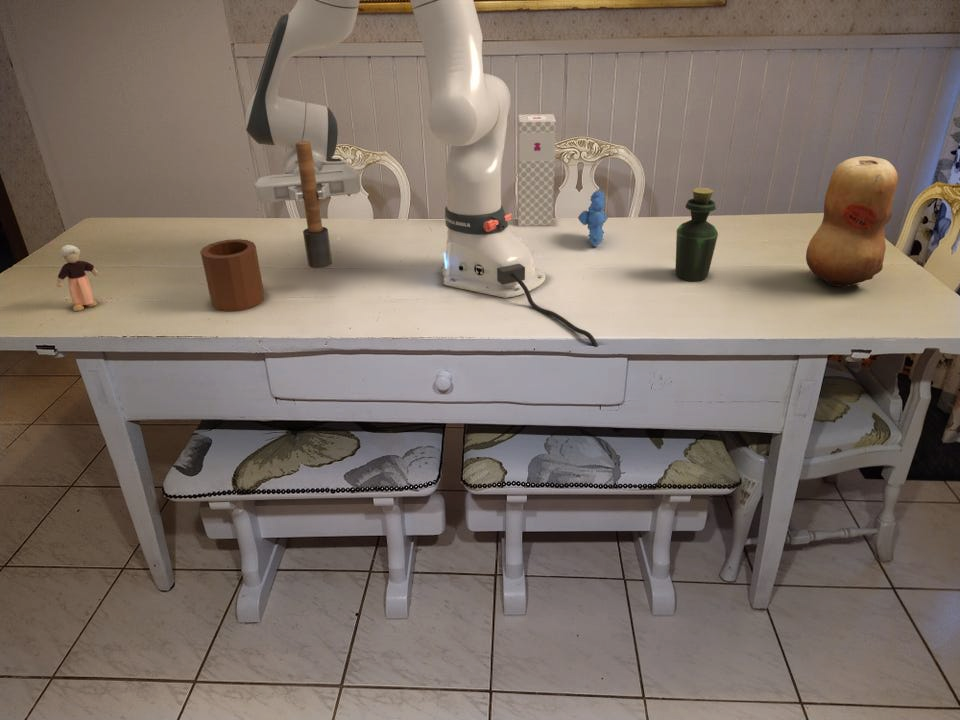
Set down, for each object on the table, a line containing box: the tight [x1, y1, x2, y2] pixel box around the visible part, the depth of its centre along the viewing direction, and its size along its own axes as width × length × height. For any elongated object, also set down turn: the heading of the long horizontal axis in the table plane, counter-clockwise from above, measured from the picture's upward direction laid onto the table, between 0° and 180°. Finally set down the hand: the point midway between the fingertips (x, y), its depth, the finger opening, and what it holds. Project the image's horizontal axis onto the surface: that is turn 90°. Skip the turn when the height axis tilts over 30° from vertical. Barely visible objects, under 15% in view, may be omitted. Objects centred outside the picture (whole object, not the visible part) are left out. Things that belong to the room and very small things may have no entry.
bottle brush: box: [295, 141, 333, 269], centre depth 140 cm, size 5×5×24 cm
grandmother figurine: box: [56, 244, 99, 312], centre depth 141 cm, size 8×4×13 cm, turn 148°
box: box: [516, 113, 557, 227], centre depth 178 cm, size 8×8×25 cm
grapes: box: [577, 189, 608, 247], centre depth 167 cm, size 12×7×12 cm, turn 173°
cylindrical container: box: [200, 238, 265, 312], centre depth 142 cm, size 10×10×11 cm
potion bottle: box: [675, 187, 719, 282], centre depth 147 cm, size 8×8×18 cm
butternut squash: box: [805, 155, 899, 288], centre depth 141 cm, size 14×13×25 cm
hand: (310, 196), depth 139 cm, fingers closed on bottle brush, 3 cm apart
